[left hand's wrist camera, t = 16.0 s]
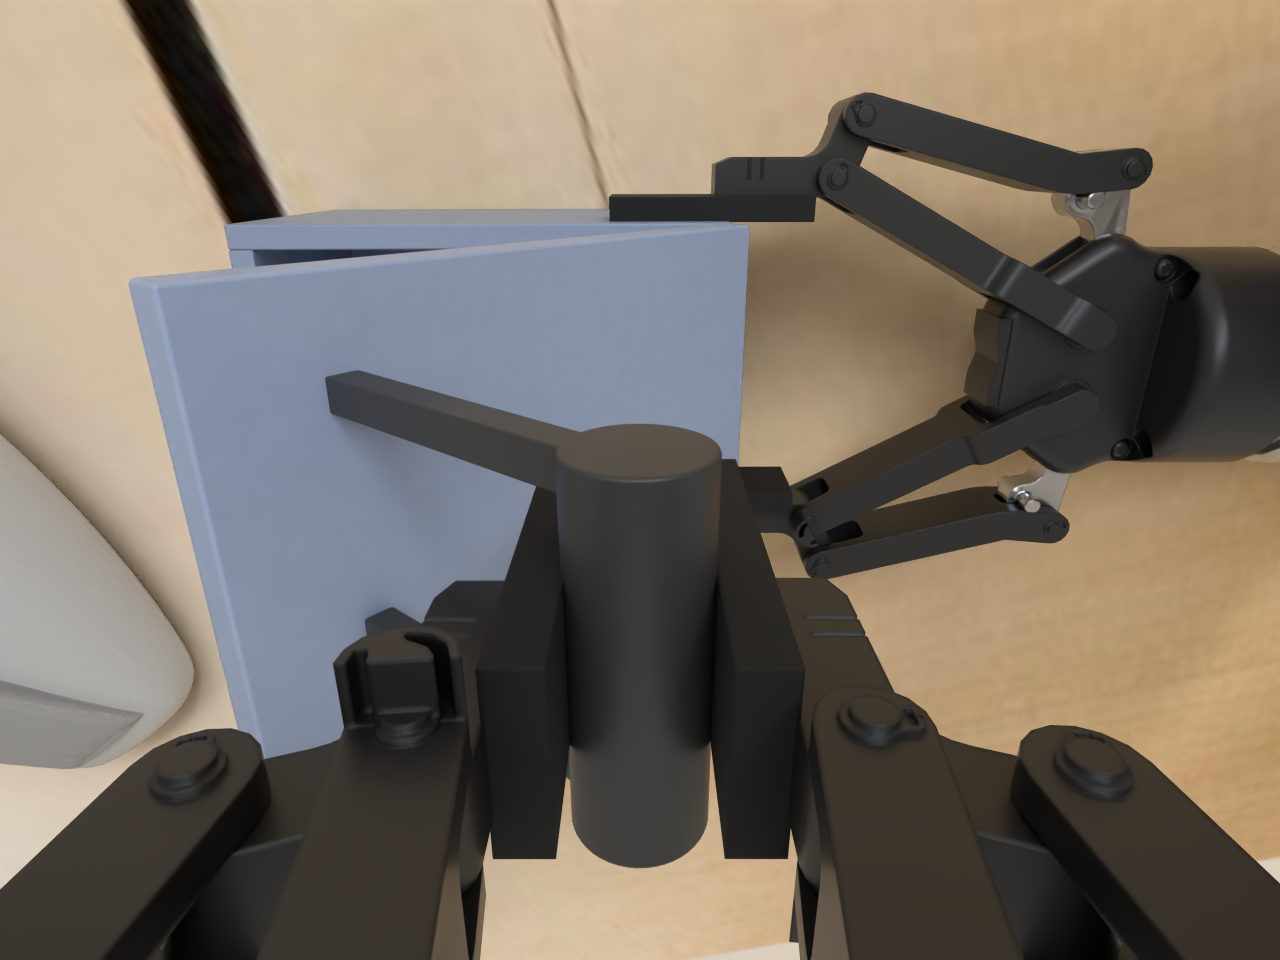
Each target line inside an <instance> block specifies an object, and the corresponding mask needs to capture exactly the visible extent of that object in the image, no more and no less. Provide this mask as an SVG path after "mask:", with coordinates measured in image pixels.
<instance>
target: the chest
mask: <svg viewBox="0 0 1280 960" xmlns="http://www.w3.org/2000/svg"><path fill="white" fill-rule="evenodd" d="M714 224H733V223H731V222H729V221H643V222H610V217H609V209H490V210H331V211H324V212H316V213H309V214H301V215H294V216H286V217H279V218H271V219H264V220H256V221H249V222H241V223H234V224H227V225H225V232H226V237H227V243H228V248H229V249H230V251H229V254H230V259H231V265H232V269H236V268H247V267H258V266H269V265H280V264H291V263H301V262H312V261H323V260H334V259H345V258H356V257H367V256H377V255H388V254H399V253H410V252H421V251H432V250H443V249H453V248H464V247H475V246H486V245H497V244H508V243H519V242H529V241H540V240H551V239H562V238H573V237H584V236H595V235H605V234H616V233H627V232H638V231H649V230H660V229H671V228H681V227H692V226H703V225H714Z"/></svg>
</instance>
